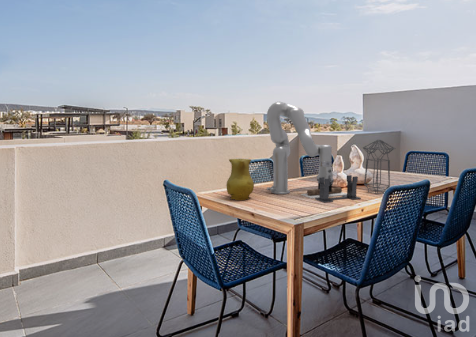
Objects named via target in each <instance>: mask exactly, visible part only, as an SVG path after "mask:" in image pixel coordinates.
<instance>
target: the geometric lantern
mask: <svg viewBox="0 0 476 337" xmlns="http://www.w3.org/2000/svg"><path fill="white" fill-rule="evenodd" d="M362 149H363V150H364V151H365V152H366V153H367V156H366V157H367V158H366V161H365V162H366V163H365V170H364V171H365V173H364V184H363V186H365V188H367V192H368V193H370V194H375V195H380V194H382V193H384V191H386V190H388V189H389V188H390V186H391V185H390V184H391V179H390V177H391V174H390V170H391V169H390V168H391V167H390V165H391V164H390V163H391V162H390V161H391V160H390V158H389V154H390V153H391V152H392V151H394V150H396V148H395V147H394V146H392V145H390V143H389V144H388V142H385V141H383V140H382V139H376V140H375V141H373V142H371V143H369V144H367V145H365V146H363V147H362ZM371 150H372V151H371ZM377 150H378V151H379V152H380V153H381V155H380V156H379V157H378V156H377V155H376V153H375V152H377ZM372 153H373V154H372ZM370 155H371V156H372V158H370ZM374 155H375V157H376V158H374ZM385 155H386V156H387V159H383V158H384V156H385ZM380 157H381V158H380ZM369 161H373V163H374V164H373V175H372V176H373V177H372V183H371V185H370V183H366V182H367V181H366V180H367V174H368V173H367V172H368V166H369ZM382 161H384V162H387V169H388V170H387V173H388V174H387V175H388V184H384V183H382V180H381V179H382ZM379 162H380V167H379ZM375 170H376V177H375ZM379 170H380V171H379ZM374 185H376V186H374ZM380 185H381V186H380ZM378 192H379V193H378Z"/></svg>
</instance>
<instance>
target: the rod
mask: <svg viewBox="0 0 476 337" xmlns="http://www.w3.org/2000/svg"><path fill="white" fill-rule="evenodd" d="M341 192H343V189H342V187H340V186H339V187H332V192H329V194H332V193H341ZM306 194H308V196H311V195H320V189H318V188H317V189H307V191H306Z"/></svg>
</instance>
